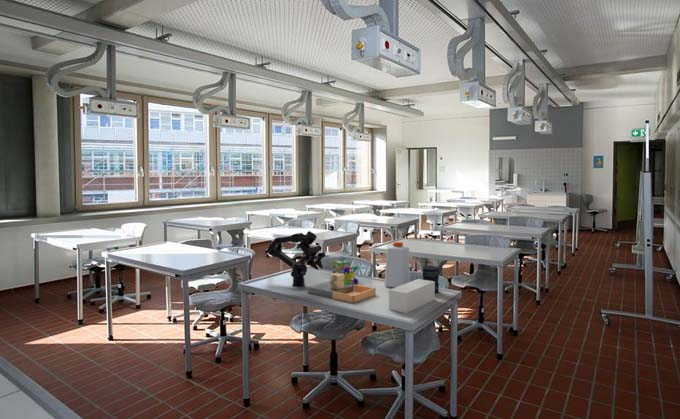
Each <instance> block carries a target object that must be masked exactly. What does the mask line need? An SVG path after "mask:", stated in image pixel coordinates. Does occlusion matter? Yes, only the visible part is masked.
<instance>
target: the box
mask: <svg viewBox="0 0 680 419" xmlns="http://www.w3.org/2000/svg"><path fill="white" fill-rule="evenodd" d="M353 285H354V291H352V292H349V293H346V294H344V293H339V292H334V291H333V298H332V299H334V300H337V301H342V302H348V303H351V304H354V303H357V302H359V301H363V300H365V299H369V298H371V297H373V296H376V295H377V294H376V287H372V286H371V287H370V286H365V285H361V284H360V285H359V284H353Z"/></svg>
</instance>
